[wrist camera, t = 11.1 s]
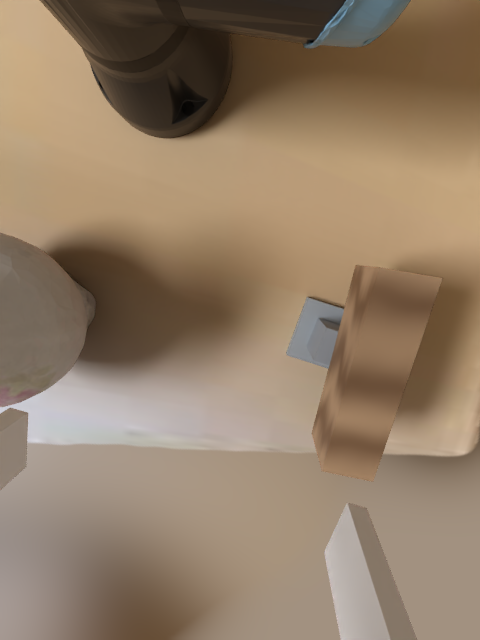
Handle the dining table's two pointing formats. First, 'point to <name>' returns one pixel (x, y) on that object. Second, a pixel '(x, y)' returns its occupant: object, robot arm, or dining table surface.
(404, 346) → the walnut bar
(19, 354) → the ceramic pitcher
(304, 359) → the fulcrum
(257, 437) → the dining table surface
